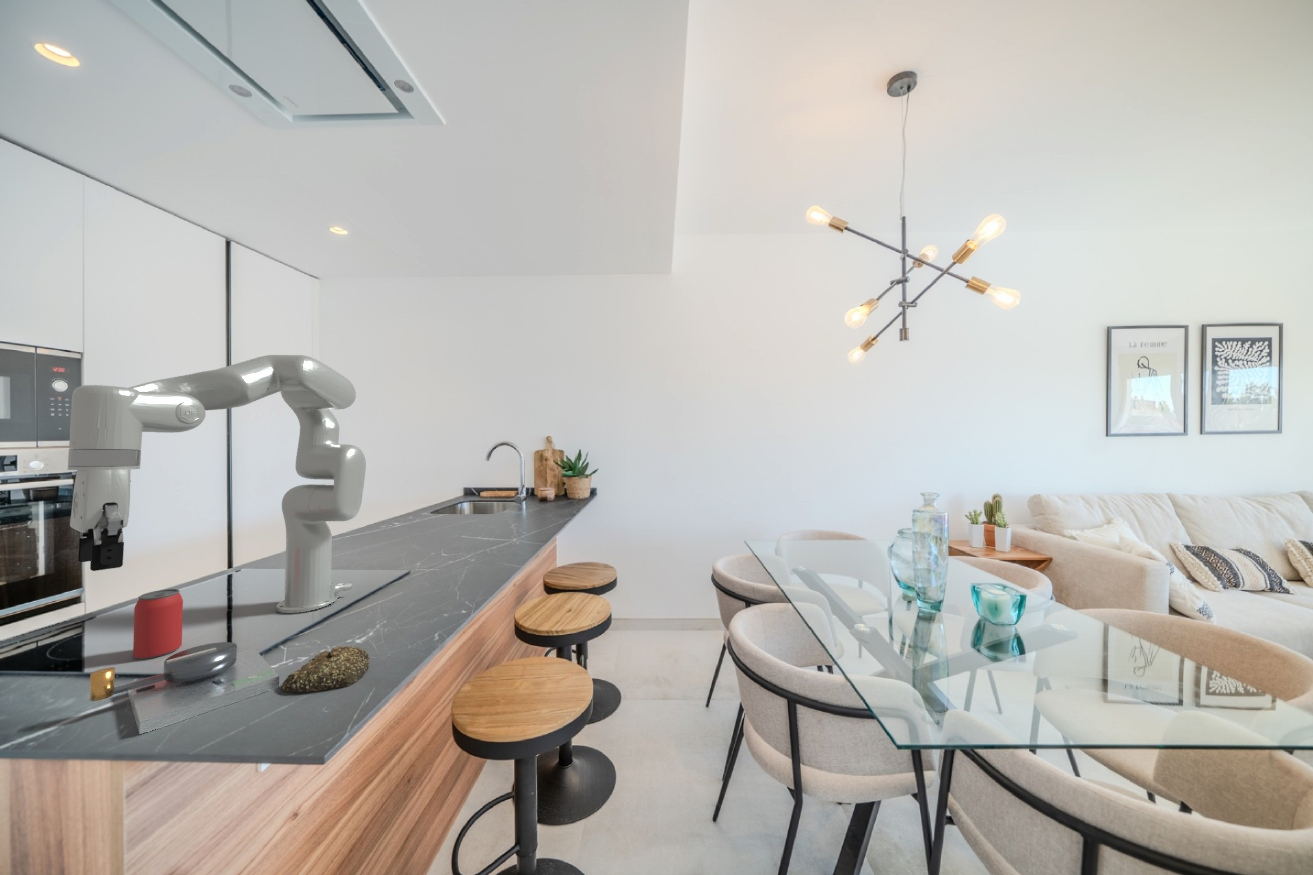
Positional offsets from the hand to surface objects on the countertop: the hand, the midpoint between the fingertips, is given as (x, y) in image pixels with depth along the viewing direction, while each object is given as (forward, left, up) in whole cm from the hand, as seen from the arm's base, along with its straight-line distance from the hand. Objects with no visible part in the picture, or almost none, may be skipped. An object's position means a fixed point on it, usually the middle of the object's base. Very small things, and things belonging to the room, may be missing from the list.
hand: (99, 564), depth 72 cm
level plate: (-11, +9, -23) cm, 27 cm away
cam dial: (-7, +5, -20) cm, 22 cm away
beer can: (-8, -18, -23) cm, 30 cm away
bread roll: (-27, +19, -23) cm, 40 cm away
